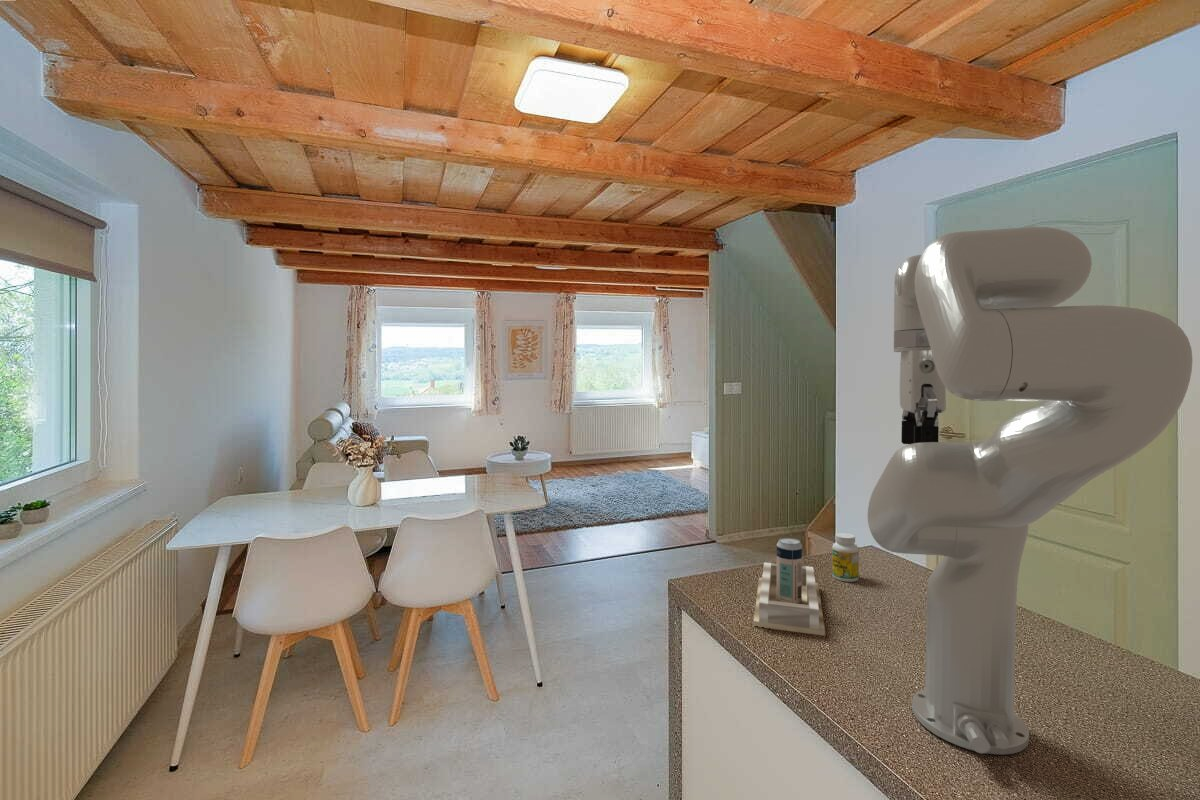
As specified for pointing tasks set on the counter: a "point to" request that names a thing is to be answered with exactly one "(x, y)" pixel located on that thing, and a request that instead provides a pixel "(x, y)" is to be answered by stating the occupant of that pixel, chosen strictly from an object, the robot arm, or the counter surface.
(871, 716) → the counter surface
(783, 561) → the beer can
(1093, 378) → the robot arm
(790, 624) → the open rectangular box
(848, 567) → the supplement bottle
